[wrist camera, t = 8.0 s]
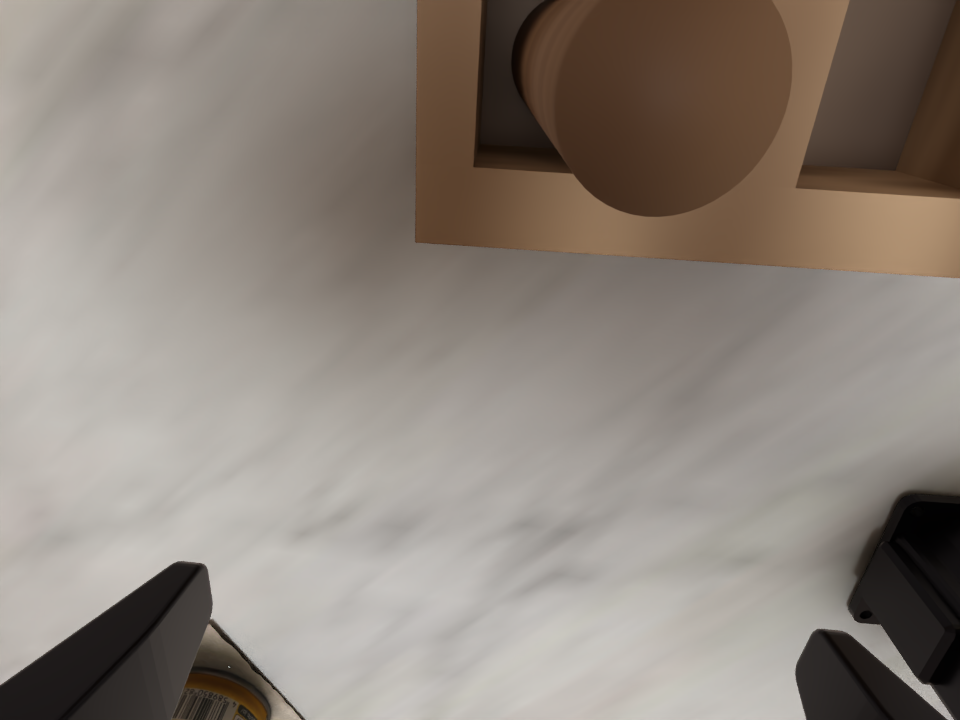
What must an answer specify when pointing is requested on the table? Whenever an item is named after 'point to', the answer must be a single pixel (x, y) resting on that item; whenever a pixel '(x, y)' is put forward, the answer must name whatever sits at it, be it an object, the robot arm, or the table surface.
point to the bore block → (761, 194)
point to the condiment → (227, 687)
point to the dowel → (656, 94)
